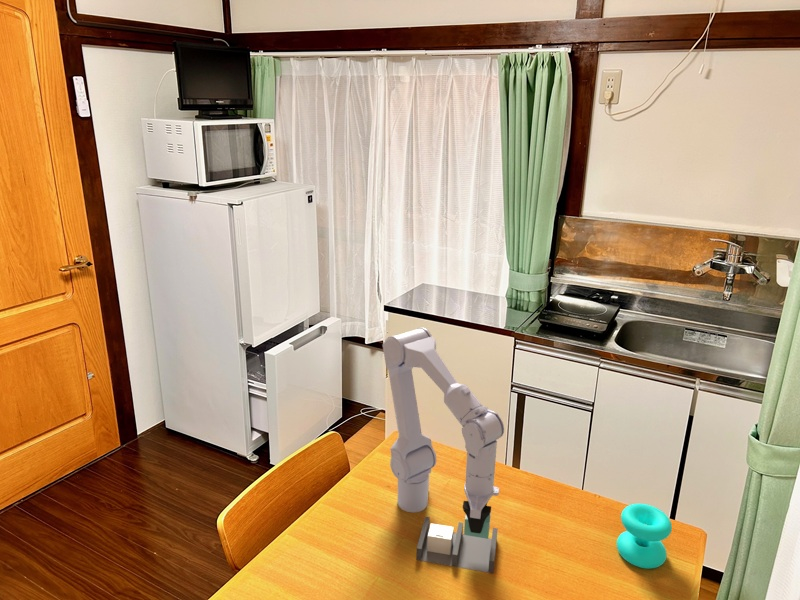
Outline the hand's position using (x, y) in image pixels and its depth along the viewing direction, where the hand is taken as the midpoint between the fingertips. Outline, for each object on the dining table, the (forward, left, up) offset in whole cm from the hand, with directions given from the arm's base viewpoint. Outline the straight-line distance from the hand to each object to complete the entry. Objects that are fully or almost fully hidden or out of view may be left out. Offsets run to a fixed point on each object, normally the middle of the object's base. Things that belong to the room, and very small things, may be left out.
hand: (476, 524), depth 125 cm
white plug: (0, -8, -7) cm, 10 cm away
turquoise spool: (-9, +35, -8) cm, 37 cm away
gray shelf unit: (0, -4, -8) cm, 9 cm away
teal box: (0, 0, -2) cm, 2 cm away
